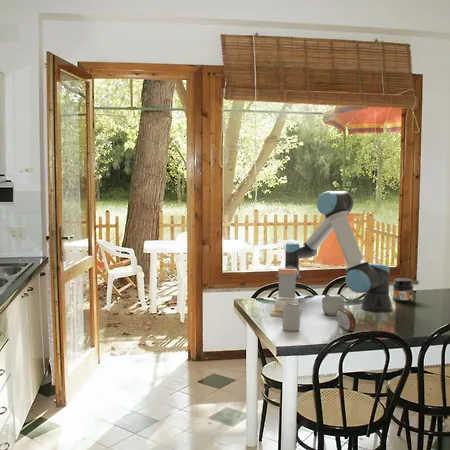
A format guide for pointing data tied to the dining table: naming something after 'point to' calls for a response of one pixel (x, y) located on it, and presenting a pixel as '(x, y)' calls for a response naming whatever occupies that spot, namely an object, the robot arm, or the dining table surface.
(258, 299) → the dining table surface
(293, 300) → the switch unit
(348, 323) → the tin
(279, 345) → the dining table surface
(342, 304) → the light grey rounded block
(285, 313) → the can
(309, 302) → the dining table surface
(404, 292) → the supplement container
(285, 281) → the grey orange box
